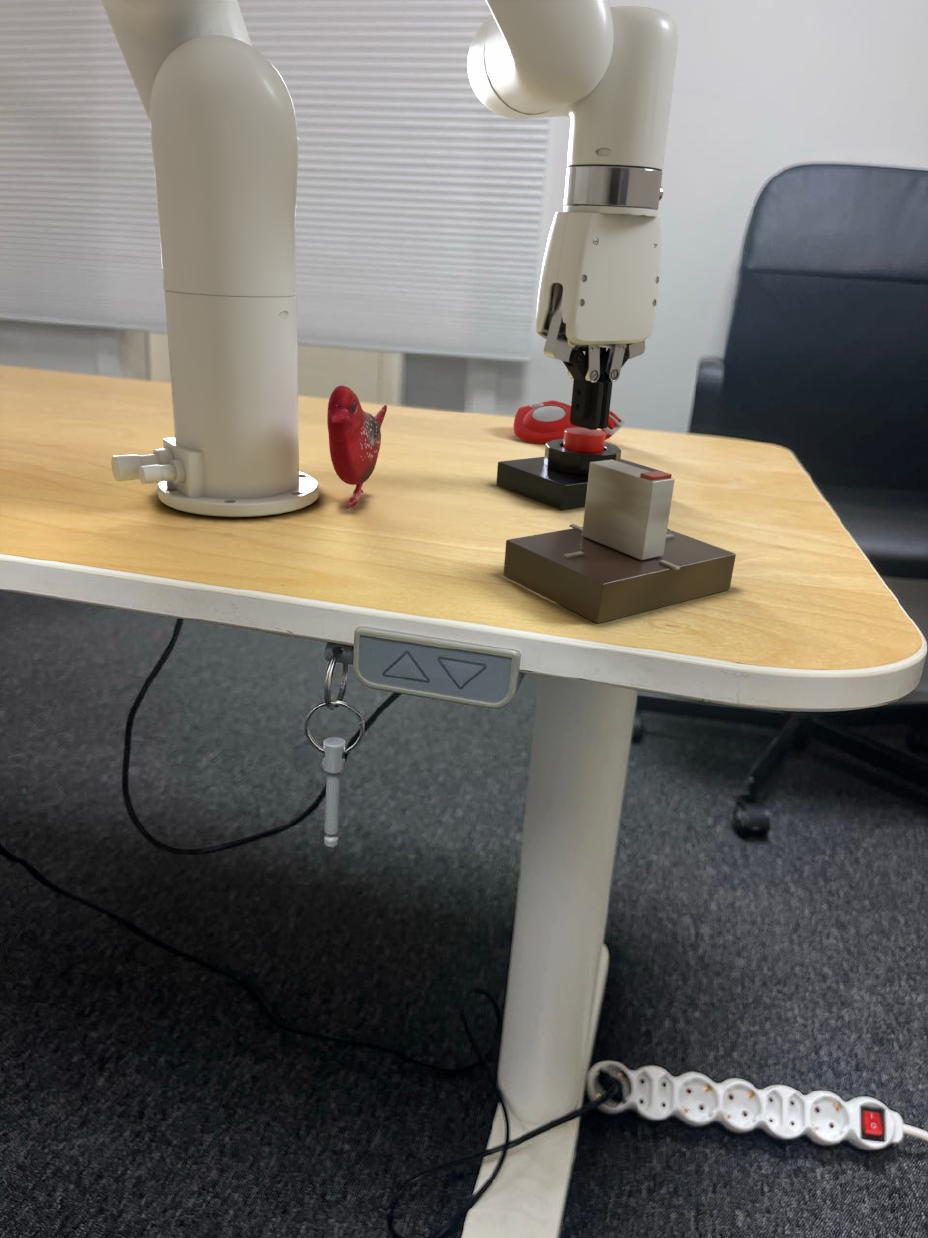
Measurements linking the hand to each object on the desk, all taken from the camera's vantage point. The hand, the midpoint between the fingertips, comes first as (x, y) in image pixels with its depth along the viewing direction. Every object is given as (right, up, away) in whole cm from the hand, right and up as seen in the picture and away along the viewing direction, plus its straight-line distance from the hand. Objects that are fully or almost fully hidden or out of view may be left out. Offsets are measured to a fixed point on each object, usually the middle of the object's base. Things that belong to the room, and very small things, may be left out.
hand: (588, 425), depth 78 cm
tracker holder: (0, +3, +23) cm, 24 cm away
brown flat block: (-1, -15, -20) cm, 24 cm away
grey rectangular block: (-1, -12, -21) cm, 24 cm away
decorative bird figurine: (-19, -7, -4) cm, 21 cm away
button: (0, -2, +1) cm, 2 cm away
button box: (-1, -5, +2) cm, 6 cm away
